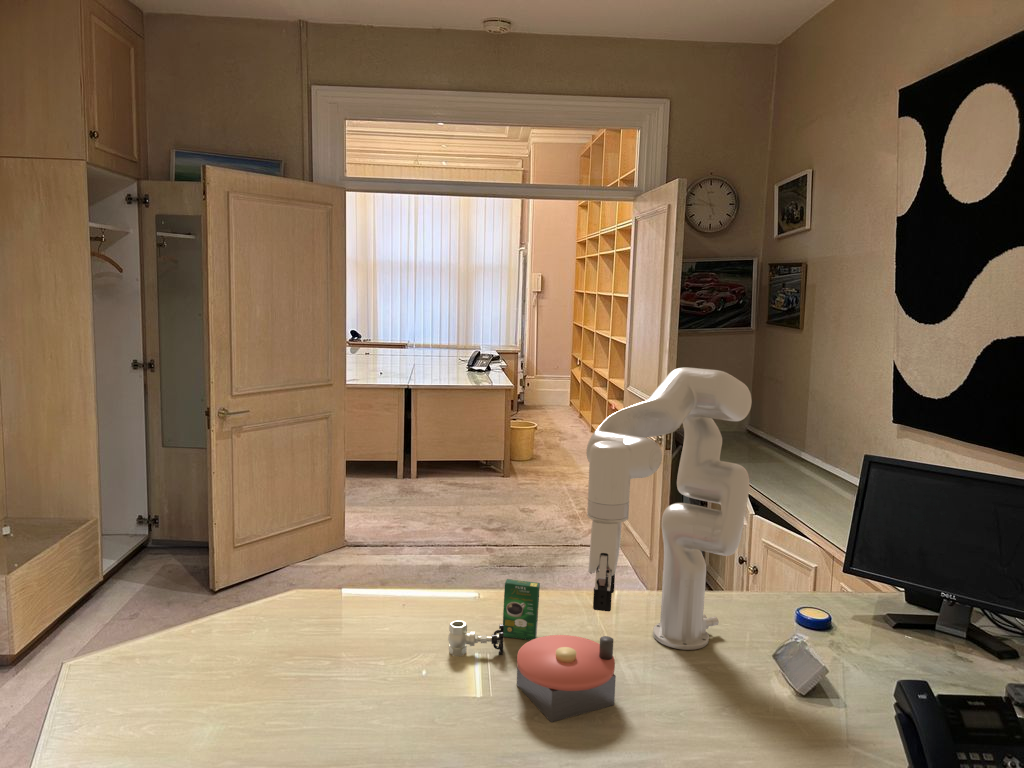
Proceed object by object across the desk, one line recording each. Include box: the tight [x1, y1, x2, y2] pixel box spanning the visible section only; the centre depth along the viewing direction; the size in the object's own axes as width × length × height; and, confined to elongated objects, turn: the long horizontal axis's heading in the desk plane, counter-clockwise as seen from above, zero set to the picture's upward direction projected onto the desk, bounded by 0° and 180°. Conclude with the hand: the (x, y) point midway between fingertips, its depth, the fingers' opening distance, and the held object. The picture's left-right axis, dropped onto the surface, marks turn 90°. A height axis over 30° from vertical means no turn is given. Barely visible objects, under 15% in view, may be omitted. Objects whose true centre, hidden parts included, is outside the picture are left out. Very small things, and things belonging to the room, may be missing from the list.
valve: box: [447, 620, 505, 657], centre depth 160 cm, size 7×7×12 cm
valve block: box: [516, 665, 617, 723], centre depth 144 cm, size 14×14×6 cm
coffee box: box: [502, 578, 541, 641], centre depth 167 cm, size 8×3×13 cm, turn 79°
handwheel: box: [516, 634, 616, 691], centre depth 143 cm, size 19×19×5 cm
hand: (603, 600), depth 137 cm, fingers open, 7 cm apart
